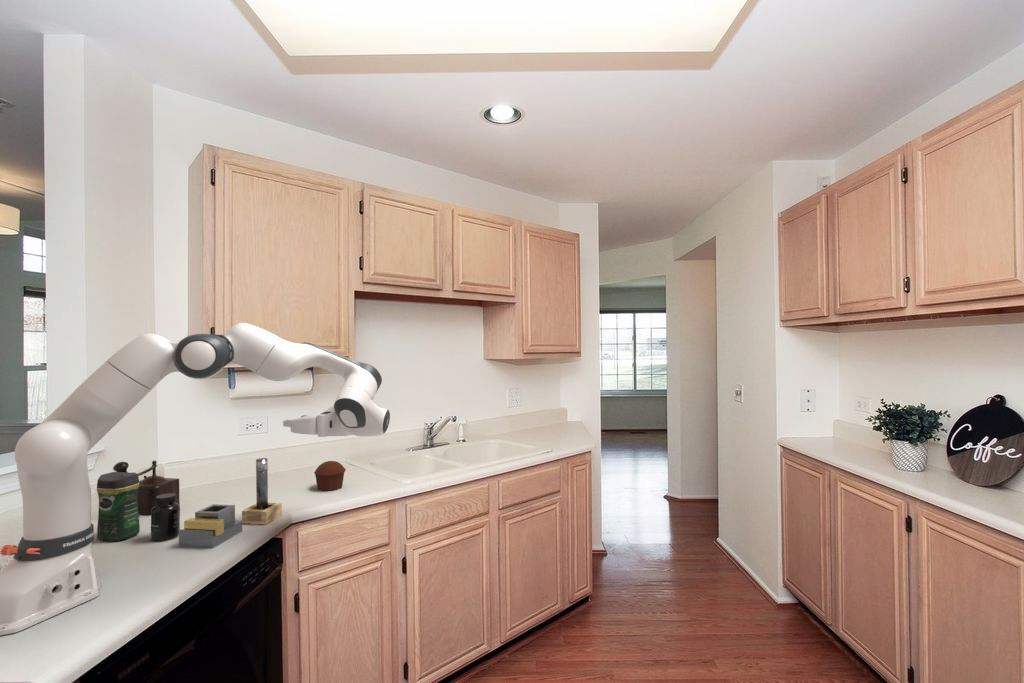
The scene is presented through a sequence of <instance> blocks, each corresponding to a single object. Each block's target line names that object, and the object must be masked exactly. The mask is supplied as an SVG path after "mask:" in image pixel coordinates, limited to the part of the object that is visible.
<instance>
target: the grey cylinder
mask: <svg viewBox="0 0 1024 683" xmlns="http://www.w3.org/2000/svg"><path fill="white" fill-rule="evenodd" d="M268 466H269V465H268V457H262V458H261V457H260V458H257V459H255V475H256V479H255V480H256V482H255V483H256V484H255V489H256V492H255V496H256V503H255V504H256V505H257V510H265V509H267V508H268V503H269V492H268V490H269V489H268V488H269V487H268V486H269V484H268V483H269V482H268V480H269V478H268V477H269V472H268V469H269V468H268Z"/></svg>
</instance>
